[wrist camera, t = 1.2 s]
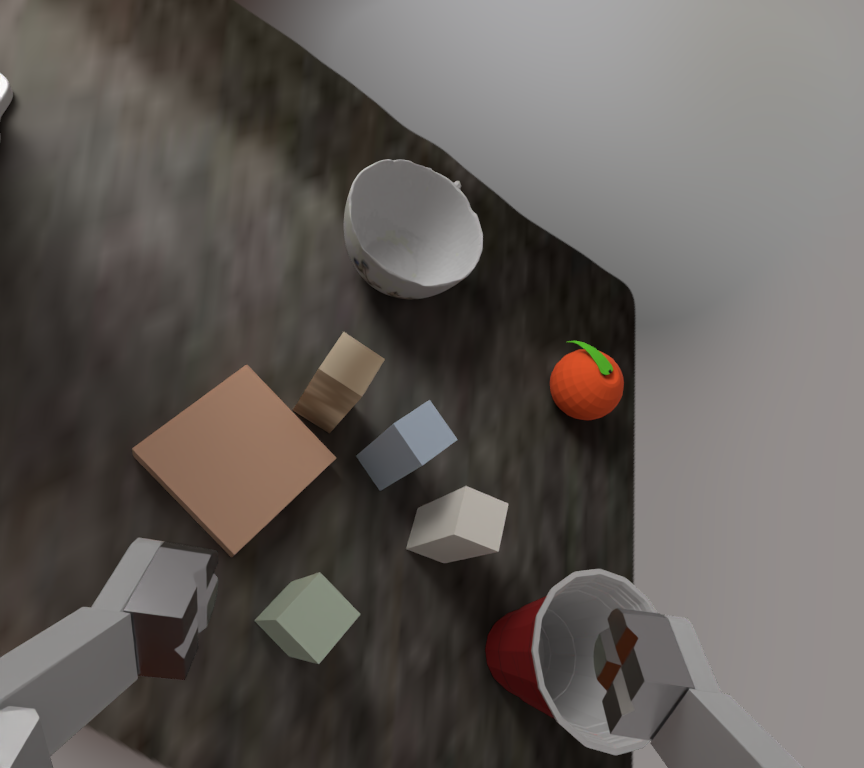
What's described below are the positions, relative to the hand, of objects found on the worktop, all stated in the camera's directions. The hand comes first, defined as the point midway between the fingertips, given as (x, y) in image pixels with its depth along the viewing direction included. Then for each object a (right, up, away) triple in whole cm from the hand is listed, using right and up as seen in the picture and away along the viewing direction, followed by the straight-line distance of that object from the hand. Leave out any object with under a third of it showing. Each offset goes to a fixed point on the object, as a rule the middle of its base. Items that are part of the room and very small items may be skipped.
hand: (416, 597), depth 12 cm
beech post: (-9, +3, +36) cm, 37 cm away
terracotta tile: (-14, -1, +32) cm, 35 cm away
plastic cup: (+7, -17, +35) cm, 40 cm away
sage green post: (-10, -12, +29) cm, 33 cm away
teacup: (-3, +16, +44) cm, 47 cm away
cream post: (0, -8, +36) cm, 37 cm away
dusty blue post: (-4, -2, +36) cm, 37 cm away
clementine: (+13, +3, +47) cm, 49 cm away
